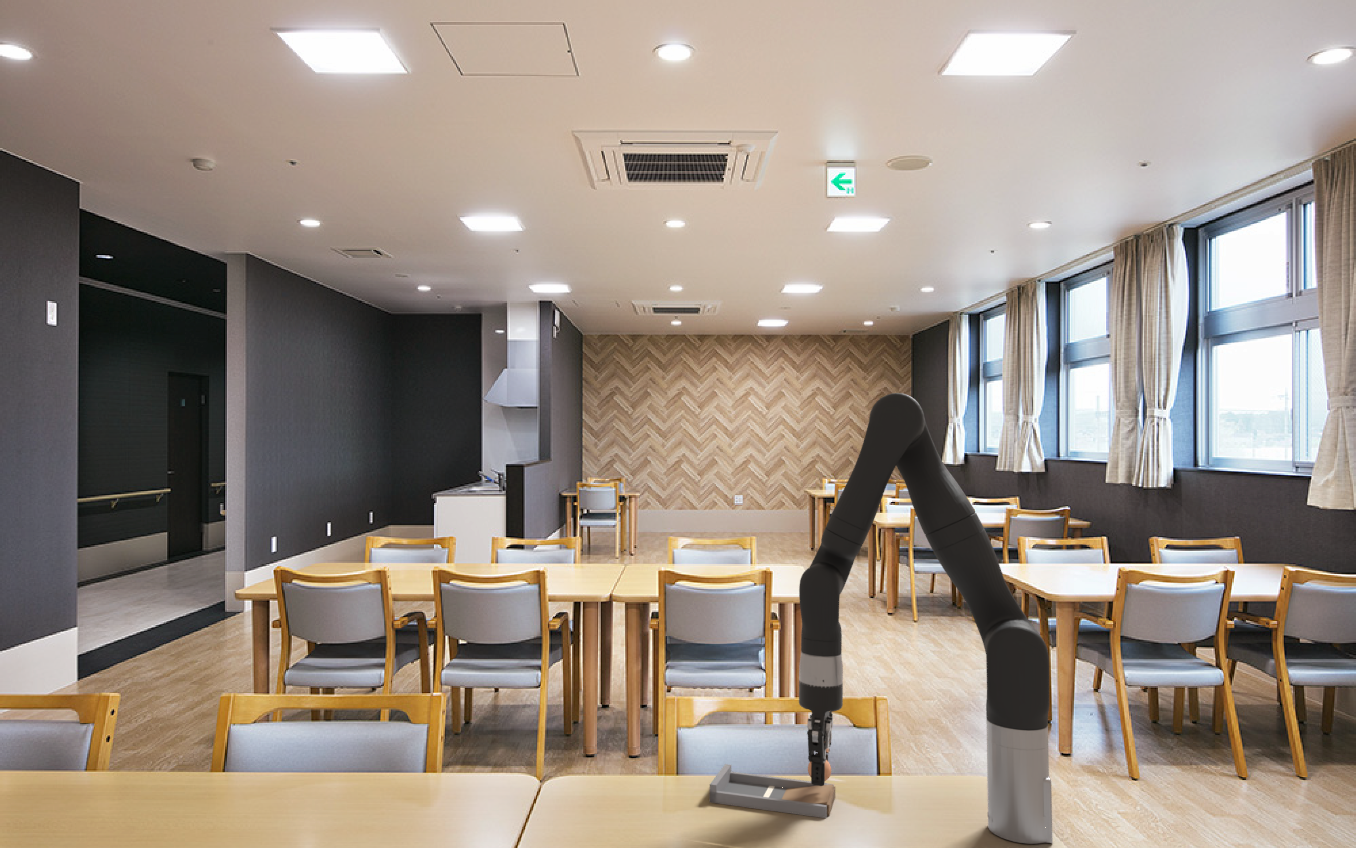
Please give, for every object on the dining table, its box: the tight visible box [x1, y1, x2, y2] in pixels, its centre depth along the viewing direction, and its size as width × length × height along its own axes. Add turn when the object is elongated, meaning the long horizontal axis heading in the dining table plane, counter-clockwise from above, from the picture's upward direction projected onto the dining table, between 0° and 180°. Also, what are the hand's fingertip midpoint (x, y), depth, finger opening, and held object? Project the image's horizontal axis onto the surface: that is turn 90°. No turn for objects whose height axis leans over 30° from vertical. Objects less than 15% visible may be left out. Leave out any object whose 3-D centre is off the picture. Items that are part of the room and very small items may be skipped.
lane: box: [709, 763, 835, 819], centre depth 141 cm, size 20×11×3 cm, turn 72°
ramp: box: [782, 783, 836, 817], centre depth 139 cm, size 9×9×3 cm
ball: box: [807, 760, 832, 782], centre depth 139 cm, size 4×4×4 cm
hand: (819, 779), depth 139 cm, fingers closed on ball, 4 cm apart
